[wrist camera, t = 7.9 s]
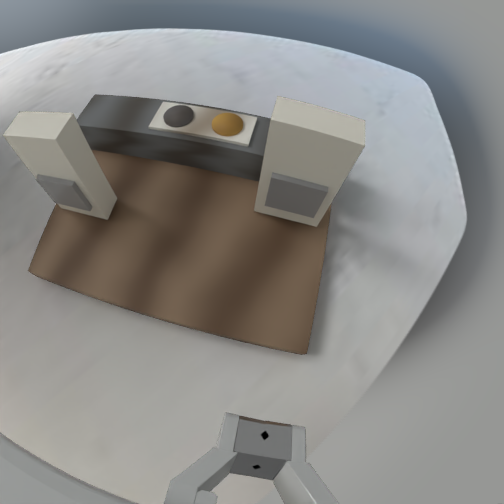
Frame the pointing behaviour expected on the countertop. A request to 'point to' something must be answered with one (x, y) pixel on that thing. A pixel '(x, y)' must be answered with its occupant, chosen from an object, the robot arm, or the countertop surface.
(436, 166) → the countertop surface
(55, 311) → the countertop surface
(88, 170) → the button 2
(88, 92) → the countertop surface
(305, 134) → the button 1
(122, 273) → the console
